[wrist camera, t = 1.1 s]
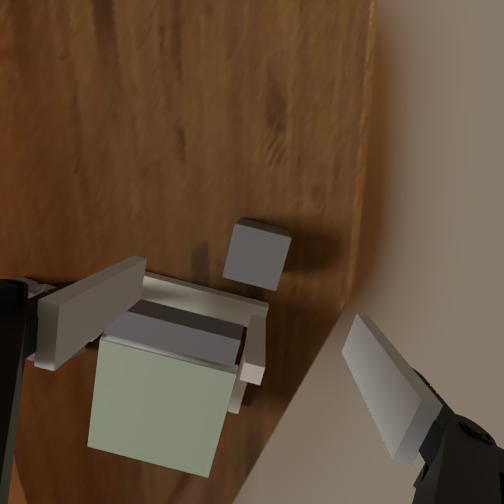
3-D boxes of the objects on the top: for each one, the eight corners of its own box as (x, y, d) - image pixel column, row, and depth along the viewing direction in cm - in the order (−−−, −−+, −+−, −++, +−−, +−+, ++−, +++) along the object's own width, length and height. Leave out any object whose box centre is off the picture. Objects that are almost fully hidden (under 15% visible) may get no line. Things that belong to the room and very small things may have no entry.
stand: (136, 268, 35) (75, 304, 24) (268, 303, 35) (269, 354, 24) (120, 374, 39) (61, 447, 28) (239, 405, 39) (227, 490, 28)
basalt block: (241, 217, 33) (234, 223, 26) (286, 228, 33) (291, 237, 26) (231, 260, 34) (222, 277, 27) (274, 271, 34) (276, 291, 27)
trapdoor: (118, 293, 27) (102, 304, 24) (248, 326, 27) (245, 342, 24) (101, 426, 31) (85, 449, 28) (212, 455, 31) (207, 480, 28)
